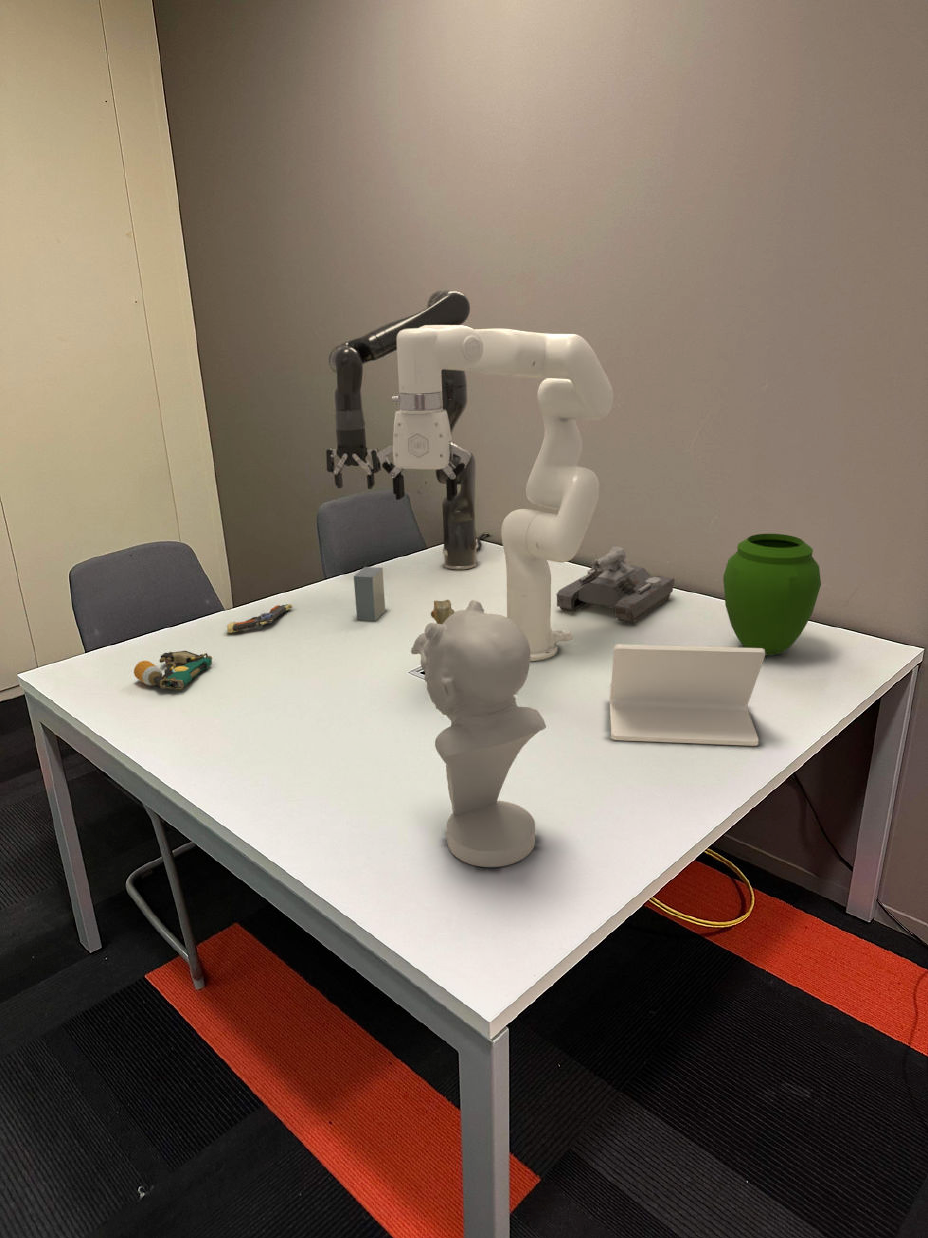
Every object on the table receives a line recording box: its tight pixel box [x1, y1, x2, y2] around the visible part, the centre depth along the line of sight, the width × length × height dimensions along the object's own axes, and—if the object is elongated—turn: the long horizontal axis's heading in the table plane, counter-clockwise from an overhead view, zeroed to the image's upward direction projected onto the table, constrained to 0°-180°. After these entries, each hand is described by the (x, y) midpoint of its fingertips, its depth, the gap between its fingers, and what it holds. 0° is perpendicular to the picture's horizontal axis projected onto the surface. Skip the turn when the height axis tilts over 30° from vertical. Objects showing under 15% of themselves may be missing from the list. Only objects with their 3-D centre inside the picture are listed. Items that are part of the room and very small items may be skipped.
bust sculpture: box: [410, 599, 547, 868], centre depth 121 cm, size 16×24×35 cm
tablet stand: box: [609, 643, 766, 747], centre depth 153 cm, size 18×25×17 cm
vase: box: [722, 533, 822, 656], centre depth 181 cm, size 20×20×24 cm
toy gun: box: [226, 603, 293, 634], centre depth 210 cm, size 3×19×10 cm
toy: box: [556, 546, 676, 624], centre depth 212 cm, size 25×20×15 cm
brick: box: [353, 566, 386, 622], centre depth 210 cm, size 5×8×11 cm, turn 166°
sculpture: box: [430, 599, 456, 624], centre depth 177 cm, size 6×7×15 cm
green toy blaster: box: [133, 650, 213, 690], centre depth 180 cm, size 4×17×15 cm
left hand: (355, 487), depth 228 cm, fingers open, 8 cm apart
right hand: (425, 498), depth 156 cm, fingers open, 9 cm apart
